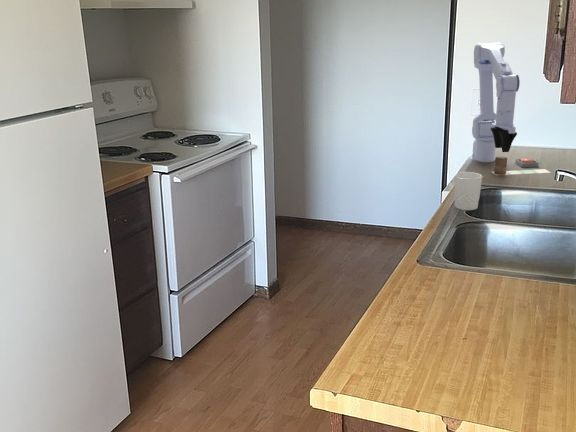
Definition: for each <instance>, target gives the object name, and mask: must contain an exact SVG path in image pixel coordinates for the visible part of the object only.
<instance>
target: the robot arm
mask: <svg viewBox="0 0 576 432" xmlns="http://www.w3.org/2000/svg"><path fill="white" fill-rule="evenodd" d="M505 52H506V49H505V44H504V43H503V42H491V43H490V42H489V43H488V42H487V43H485V42H484V43H481V42H477V43H476V44H475V45H474V50H473V64H474V68H475V69H477V70H478V75H479V76H478V77H479V78H478V79H479V104H480V105H479V114H477V115H476V116H475V117H474V118H473V120H472V129H471V130H472V131H471V134H472V138H473V139H474V141H473V143H472V155H471V156H472V157H469V159H470V160H472V161H473V160H474V161H475V162H479V163H493V162H495V157H496V150H497V149H501V152H502V153H509V152H510V149H511V147H512V143H513V142H514V139H515V138H516V137H517V135H518V133H517V131H516V128H517V127H515V125H514V118H515V117H514V116H515V107H516V95H517V93H518V91H519V89H520V84H521V82H520V81H521V79H520V76H519V74H518V73H513V71H512V69H511V67H510V65H509V63H507V62H506V61H504V56H505ZM493 79H495V90H496V97H497V102H496V113H495V112H494V111H495V110H494V107H495V106H494V80H493Z"/></svg>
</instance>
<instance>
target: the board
mask: <svg viewBox="0 0 576 432" xmlns="http://www.w3.org/2000/svg"><path fill="white" fill-rule="evenodd" d="M491 173H492V174H493V175H495V176H499V175H498V174H495V173H494V171H491ZM551 173H552V172H551V171H549V170H548V169H546V168H544V169H542V168H541V169H523V170H522V169H520V170H519V169H518V170H506V174H504V175H503V176H509V175H511V176H512V175H513V176H514V175H529V174H530V175H531V174H532V175H533V174H551Z"/></svg>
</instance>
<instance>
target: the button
mask: <svg viewBox="0 0 576 432" xmlns="http://www.w3.org/2000/svg"><path fill="white" fill-rule="evenodd" d="M520 159H521V162H522V163H533V161H534V160H535V159H533V158H531V157H529V158H528V157H527V158H526V157H525V158H524V157H523V158H520Z"/></svg>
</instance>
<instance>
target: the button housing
mask: <svg viewBox="0 0 576 432" xmlns="http://www.w3.org/2000/svg"><path fill="white" fill-rule="evenodd" d="M521 159H522V158H518V159H517V158H515V165H517V166H518V167H521V168H539V162H538V161H537V160H535V159H533V160H534V161H533V163H522V162H521Z"/></svg>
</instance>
